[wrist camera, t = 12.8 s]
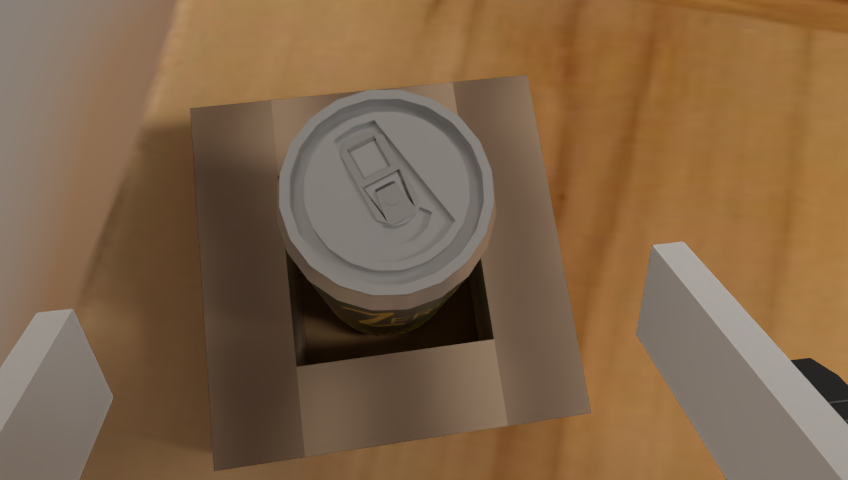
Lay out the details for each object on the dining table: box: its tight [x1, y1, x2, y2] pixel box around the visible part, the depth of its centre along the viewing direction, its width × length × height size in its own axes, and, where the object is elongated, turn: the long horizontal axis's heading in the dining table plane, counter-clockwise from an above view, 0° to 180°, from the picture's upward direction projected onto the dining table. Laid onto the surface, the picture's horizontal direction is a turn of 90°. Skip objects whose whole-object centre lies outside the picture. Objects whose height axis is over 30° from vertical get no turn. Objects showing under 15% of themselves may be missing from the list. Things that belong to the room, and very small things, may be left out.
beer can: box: [277, 90, 496, 336], centre depth 20 cm, size 5×5×12 cm
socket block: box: [190, 75, 591, 471], centre depth 24 cm, size 13×13×4 cm
